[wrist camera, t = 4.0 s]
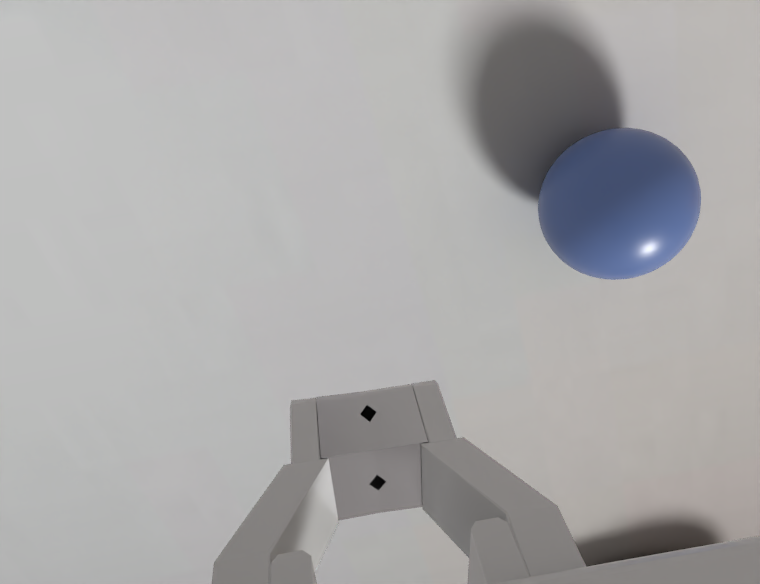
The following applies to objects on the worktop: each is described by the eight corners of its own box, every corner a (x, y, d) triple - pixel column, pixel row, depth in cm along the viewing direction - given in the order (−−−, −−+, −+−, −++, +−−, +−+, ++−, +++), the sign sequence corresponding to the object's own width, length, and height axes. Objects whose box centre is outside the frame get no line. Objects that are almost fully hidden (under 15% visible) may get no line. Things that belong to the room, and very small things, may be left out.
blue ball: (661, 103, 20) (760, 150, 16) (633, 230, 22) (711, 299, 18) (524, 116, 19) (588, 167, 15) (512, 244, 22) (564, 317, 18)
